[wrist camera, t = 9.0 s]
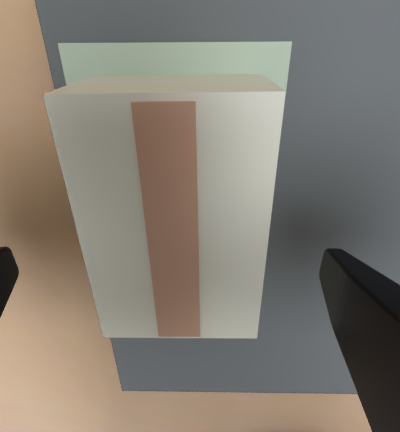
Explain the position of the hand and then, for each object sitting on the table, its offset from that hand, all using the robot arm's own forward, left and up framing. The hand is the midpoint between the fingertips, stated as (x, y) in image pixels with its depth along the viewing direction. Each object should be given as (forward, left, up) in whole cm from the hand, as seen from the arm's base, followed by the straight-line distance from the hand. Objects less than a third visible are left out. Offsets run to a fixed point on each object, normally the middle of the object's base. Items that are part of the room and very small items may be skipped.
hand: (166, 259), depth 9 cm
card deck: (0, 0, -5) cm, 5 cm away
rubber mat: (-4, -4, -6) cm, 8 cm away
